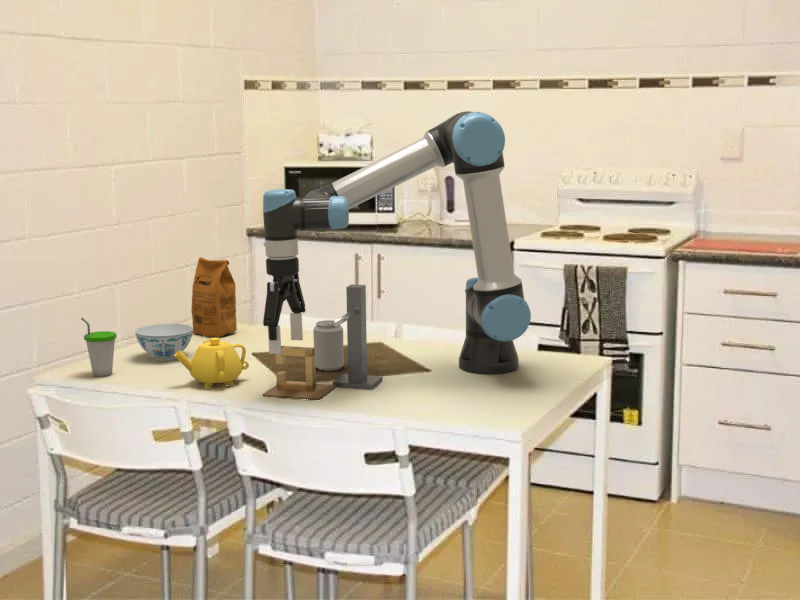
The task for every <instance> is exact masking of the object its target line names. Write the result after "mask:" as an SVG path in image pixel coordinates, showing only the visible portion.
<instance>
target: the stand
mask: <svg viewBox="0 0 800 600" xmlns="http://www.w3.org/2000/svg"><path fill="white" fill-rule="evenodd" d="M366 286H367V285H366V284H353V283H352V284H350V285H347V286H346V287H345V288H346V313H345V314H343V315H342V316H340V317H339V318H337V319H335V321H334V322H332V324H331V325H332V327H333V328H336V327H337V326H339V325H342V324H344V323H346V331H347V332H346V334H347V338H346V339H347V340H346V341H347V373H343V374H341V375H340V376H339V377H338V378H335V380H334V381H332V385H337V387H336V388H339V389H355V390H369V391H371V390H372V391H373V390H374V389H376V388H377V387H378V386H379V385H380V384H382V382H383V379H384V378H383V375H382V376H379V375H368V353H367V352H368V348H367V346H368V345H367V343H368V339H367V293H366V292H367V291H366V290H367V288H366Z"/></svg>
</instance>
